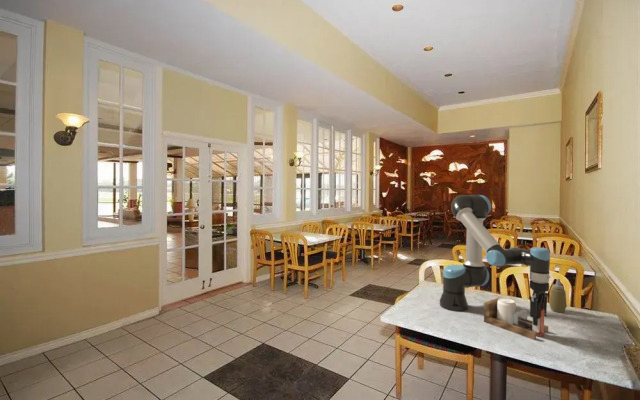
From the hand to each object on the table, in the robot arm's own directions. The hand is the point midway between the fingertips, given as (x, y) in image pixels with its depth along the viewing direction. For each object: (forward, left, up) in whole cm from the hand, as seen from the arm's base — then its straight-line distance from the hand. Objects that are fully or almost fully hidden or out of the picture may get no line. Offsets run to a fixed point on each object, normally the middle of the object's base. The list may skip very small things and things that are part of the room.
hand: (537, 330), depth 150 cm
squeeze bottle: (-8, +42, -2) cm, 43 cm away
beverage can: (-15, 0, -2) cm, 15 cm away
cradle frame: (-10, 0, -2) cm, 10 cm away
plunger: (-3, 0, -2) cm, 4 cm away
